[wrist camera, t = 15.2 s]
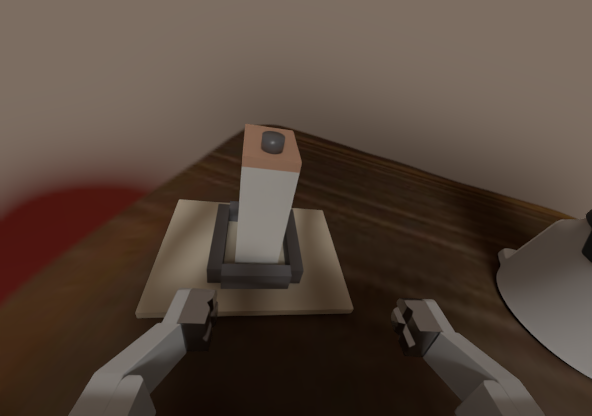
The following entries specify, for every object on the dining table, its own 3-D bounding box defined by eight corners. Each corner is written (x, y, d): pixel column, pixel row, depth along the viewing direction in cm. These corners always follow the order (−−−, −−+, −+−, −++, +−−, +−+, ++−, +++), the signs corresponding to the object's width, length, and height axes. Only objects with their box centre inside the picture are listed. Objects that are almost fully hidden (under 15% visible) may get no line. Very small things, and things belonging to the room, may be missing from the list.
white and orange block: (273, 229, 28) (295, 119, 20) (276, 269, 24) (305, 149, 16) (237, 227, 27) (246, 111, 19) (234, 268, 23) (243, 141, 15)
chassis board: (320, 214, 34) (326, 198, 32) (350, 313, 23) (361, 297, 21) (179, 204, 30) (177, 185, 28) (137, 318, 19) (129, 298, 17)
